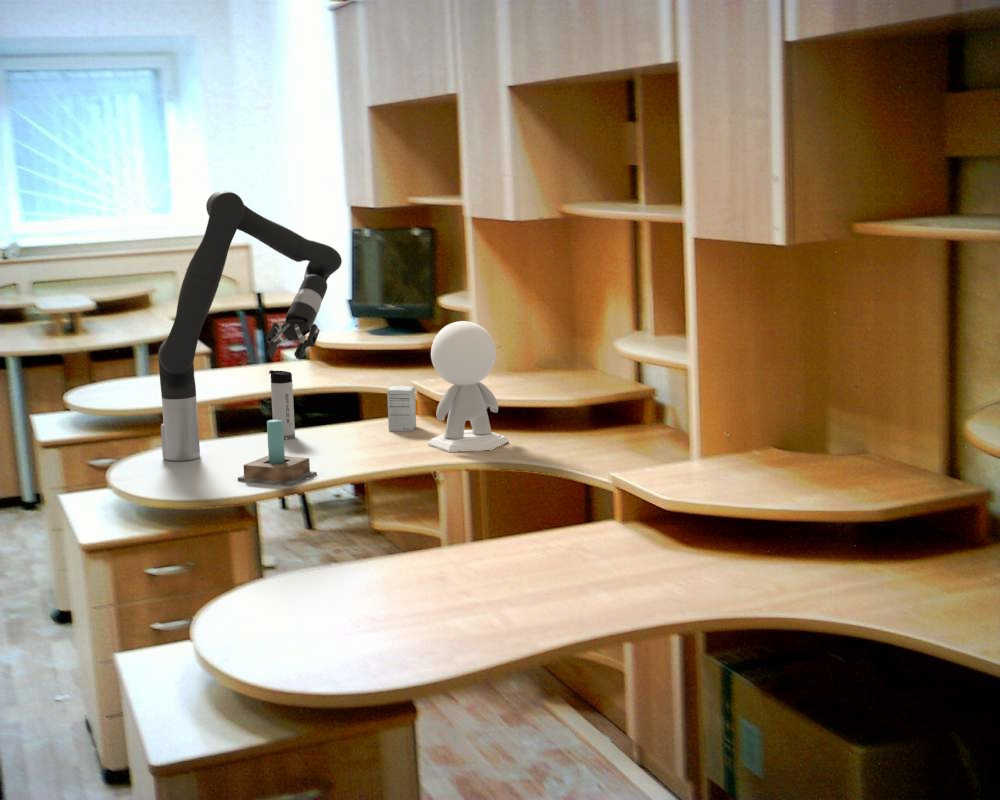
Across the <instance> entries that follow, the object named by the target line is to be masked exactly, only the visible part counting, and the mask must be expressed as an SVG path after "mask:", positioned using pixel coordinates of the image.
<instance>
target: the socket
mask: <svg viewBox="0 0 1000 800" xmlns="http://www.w3.org/2000/svg"><path fill="white" fill-rule="evenodd" d="M310 467H311V466H310V458H309V457H301V456H288V455H287V456H286V455H285V463H283V464H280V465H278V464H269V454H268V455H266V456H263V457H260V458H257V459H255V460H253V461H250V462H248V463H244V464H243V475H241V476H239V477H237V482H238V481H239V482H248V483H258V484H268V485H277V484H281V485H280V486H287V485H290V487H292V486H294V484H295V485H297V484H298V483H301V481H302V482H304V481H305V479H306V480H308V479H310V477H311V478H313V477H315V476H317V474H318V473H317V471H311V468H310ZM314 475H315V476H314ZM312 476H313V477H312ZM307 478H308V479H307ZM303 480H304V481H303ZM296 483H297V484H296Z"/></svg>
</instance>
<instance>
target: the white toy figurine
mask: <svg viewBox="0 0 1000 800" xmlns="http://www.w3.org/2000/svg"><path fill="white" fill-rule="evenodd" d="M496 357H497V350H496V344H495V341H494V339H493V338H492V335H491V334H490V332H488V331H487V330H486V329H485V328H484V327H483V326H482V325H480V324H478V323H476V322H472V321H469V320H467V321H466V320H459V321H455V322H451V323H448V324H446V325H445V326H444V327H443V328H441V329H440V330H439V331H438V332H437V334H436V335H435V337H434V339H433V342H432V345H431V349H430V359H431V364H432V366H433V368H434V370H435V372H436V373H437V375H438V376H439V377H440V378H441V379H443V381H445V382H448V383H449V384H451V386H450V387H449V388H448V389H447V390H446V392H445V393H444V394H443V396H442V397H441V399H440V401H439V403H438V405H437V407H436V413H435V414H436V419H437V420H439V421H445V420H446V425H445V426H446V427H445V432H444V433H442V434H439V435H437V436H436V437H432V438H430V440H429V441H428V443H427V445H428V446H429V445H430V447H432V446H433V447H432V448H435V447H436V449H438V448H439V449H438V450H441V449H442V450H441V451H444V450H445V451H444V452H447V451H448V453H459V452H458V451H475V452H483V451H482V450H491V449H493V448H496V447H498V446H500V445H502V444H505V443H507V442H509V443H510V440H509V438H507V437H506V436H504V435H502V434H498V433H497V432H492V429H491V424H490V419H489V415H488V409H489V410H490V412H493V413H497V414H498V411H499V404H498V403H499V402H498V400H497V398H496V396H495V394H493V391H491V390H490V389H489V387H487V386H486V385H485V384H484V383H483V382H481V381H483V380H484V379H486V378H487V377H488V376H489V375H490V373H491V372H492V369H493V368H494V366H495V363H496ZM446 416H447V419H445V418H446ZM467 421H470V425H471V429H465V427H466V422H467ZM507 444H508V443H507ZM505 445H506V444H505ZM502 446H503V445H502ZM500 447H501V446H500ZM498 448H499V447H498ZM496 449H497V448H496ZM491 451H492V450H491Z"/></svg>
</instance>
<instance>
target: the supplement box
mask: <svg viewBox="0 0 1000 800" xmlns="http://www.w3.org/2000/svg"><path fill="white" fill-rule="evenodd" d="M386 392H387V393H386V394H387V395H386V397H387V415H388V416H387V420H388V431H389V432H413V431H414V429H415V428H417V410H416V409H417V407H416V404H417V403H416V386H415V385H414V386H413V385H392V386H390V387H389V389H387V390H386Z"/></svg>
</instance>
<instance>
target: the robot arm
mask: <svg viewBox="0 0 1000 800" xmlns="http://www.w3.org/2000/svg"><path fill="white" fill-rule="evenodd" d="M205 204H206V207H205V208H206V213H207V214H208V220H207V224H206V228H205V231H204V236H203V237H202V240H201V242H200V244H199V246H198V247H197V249H196V250H195V253H194V254H193V256H192V258H191V259H190V261H189V264H188V265H187V268H186V271H185V274H184V277H183V281H182V283H181V287H180V291H179V294H178V295H179V296H178V300H177V307H176V314H175V317H174V321H173V324H172V327H171V330H170V332H169V334H168V335H167V336H168V337H167V338H166V339H165V340H163V342H162V343H161V344H160V346H159V348H158V353H157V355H158V356H157V359H158V371H159V383H160V393H161V407H162V419H163V420H162V422H163V423H161V424H160V433H161V434H160V435H161V436H160V437H161V439H160V440H161V450H162V451H161V452H162V459H165V460H167V461H171V462H172V461H173V462H182V461H192V460H195V459H198V458H200V457H201V449H200V447H201V446H200V435H199V433H200V432H199V431H200V430H199V416H198V404H197V403H198V401H197V389H196V388H197V386H196V377H195V368H194V367H195V366H194V363H195V361H194V360H195V356H196V355H195V354H196V350H197V346H198V342H199V338H200V335H201V330H202V327H203V326H204V323H205V322H206V318H207V316H208V314H209V312H210V310H211V307H212V305H213V301H214V299H215V296H216V294H217V291H218V288H219V285H220V282H221V279H222V275H223V272H224V269H225V266H226V265H225V264H226V261H227V257H228V253H229V250H230V246H231V244H232V242H233V239H234V237H235V235H236V233H237V231H241V232H243V233H245V234H246V235H249V236H251V237H252V238H255V239H256V240H258V241H259V242H261V243H263V244H264V245H265V246H268V247H269V248H270V249H272V250H274V251H275V252H277V253H279V254H281V255H283V256H285V257H286V258H288V259H289V260H292V261H294V262H297V263H301V262H304V261H307V265H306V268H305V272H304V276H303V277H304V278H303V280H302V282H301V285H300V286H299V289H298V291H297V293H296V295H294V298H293V300H292V302H291V305H290V306H289V309H288V311H287V313H286V316H285V321H284V323H283V324H278V322H277V321H276V322H273V324H272V326H271V327H270V329H269V331H268V333H267V334H266V337H265V340H266V341H267V343H268V344H269V345H268V348H267V349H266V353H267V355H268V357H269V358H274V356H275V355H276V351H277V349H278V346H279V347H280V345H281V344H284V343H286V342H289V341H295V342H296V341H299V343H298V345H297V347H296V349H295V351H294V354H293V355H294V357H295V358H296V359H297V360H300V359H301V358H302V357H303V356H304V353H305V352H306V349H308V348H309V347H310V348H313V347H314V346H315V344H316V341H317V340H318V336H319V334H320V331H321V330H320V329H319V327H318V325H317V324H315V323H314V322H315V320H316V318H317V316H318V313H319V312H320V308H321V306H322V302H323V300H324V298H325V296H326V294H327V290H328V283H327V281H328V279H329V278H330V276H332V275H333V274H334V273H336V271H337V270H339V268H340V267H341V265H342V261H343V259H342V257H341V255H340V253H339V252H338V251H337V250H336V249H335V248H333V247H332V246H330V245H327V244H324V243H320V242H319V241H315V240H310V239H307V238H305V237H304V236H302V235H300V234H298V233H297V232H295V231H293V230H291V229H289V228H287V227H286V226H283V225H282V224H279V223H278V222H277V223H276V222H275V221H272V220H271V219H268V218H266V217H264V216H263V215H260V214H259V213H257V212H256V211H253V210H252V209H250V208H249V207H248V206H247V205H245V203H244V202H243V199H242V198H241V197H240V195H238V194H237V193H234V192H232V191H228V190H219V191H216V192H214V193H212V194H211V195H210V196H209V197H208V198H207V200H206V203H205ZM307 334H308V335H307ZM282 335H283V336H284V337H282ZM306 335H307V338H306Z"/></svg>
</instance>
